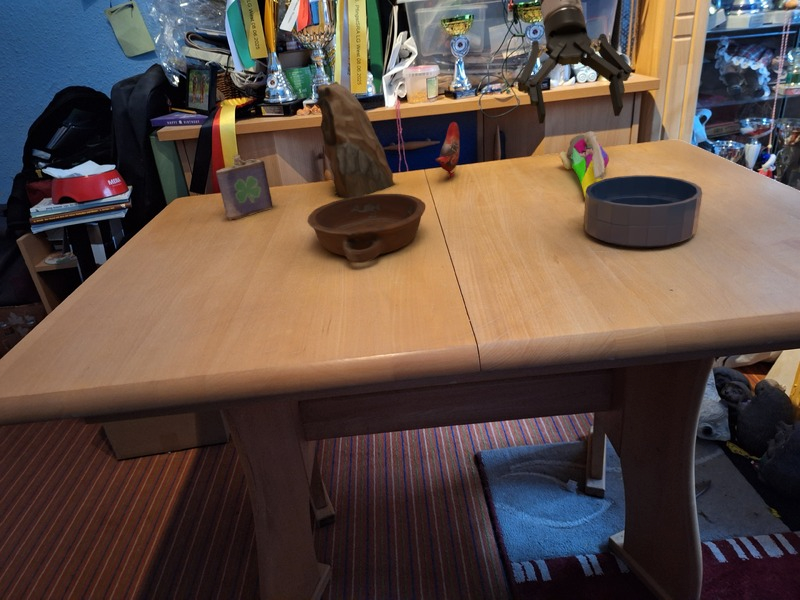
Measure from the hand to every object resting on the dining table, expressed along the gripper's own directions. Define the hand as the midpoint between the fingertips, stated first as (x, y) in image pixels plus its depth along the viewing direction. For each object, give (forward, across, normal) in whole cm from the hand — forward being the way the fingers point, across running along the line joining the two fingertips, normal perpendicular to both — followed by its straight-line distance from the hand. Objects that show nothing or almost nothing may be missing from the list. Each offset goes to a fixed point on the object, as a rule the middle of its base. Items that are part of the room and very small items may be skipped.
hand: (580, 115), depth 101 cm
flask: (+12, +62, -3) cm, 63 cm away
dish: (+26, +38, +11) cm, 47 cm away
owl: (+5, +42, -10) cm, 43 cm away
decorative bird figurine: (+5, +24, -10) cm, 27 cm away
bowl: (+30, 0, +15) cm, 34 cm away
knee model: (+11, 0, -4) cm, 12 cm away
